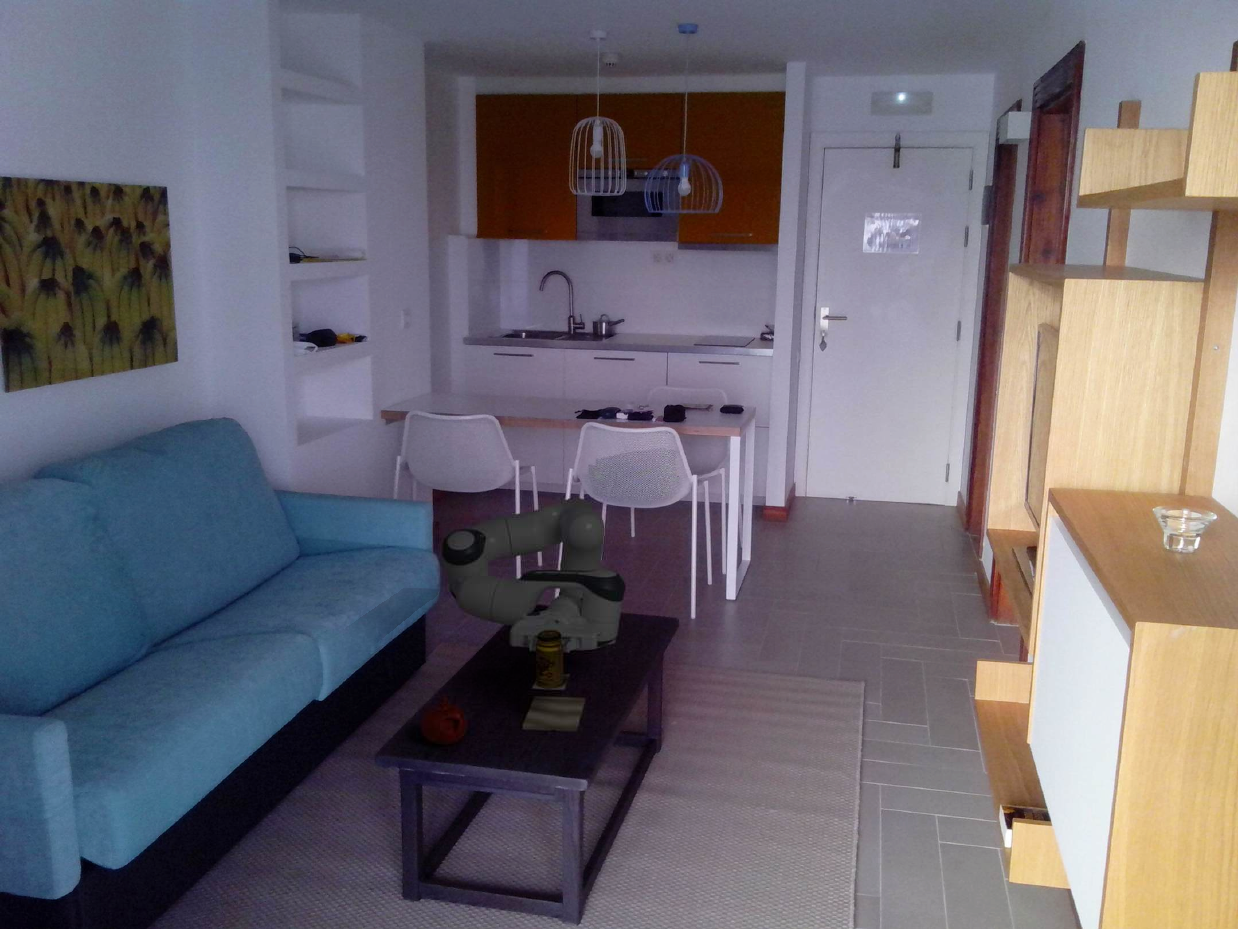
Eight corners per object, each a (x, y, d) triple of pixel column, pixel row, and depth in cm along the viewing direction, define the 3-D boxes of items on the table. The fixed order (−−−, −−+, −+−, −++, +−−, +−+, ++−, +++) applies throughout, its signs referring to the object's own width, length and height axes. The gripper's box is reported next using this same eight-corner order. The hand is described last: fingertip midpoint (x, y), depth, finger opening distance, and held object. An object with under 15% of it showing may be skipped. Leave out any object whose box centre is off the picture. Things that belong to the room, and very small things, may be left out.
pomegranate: (412, 744, 225) (410, 704, 224) (440, 726, 234) (437, 687, 232) (451, 752, 221) (448, 711, 219) (477, 733, 230) (475, 693, 228)
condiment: (531, 689, 233) (531, 638, 230) (538, 674, 241) (538, 624, 239) (564, 690, 232) (564, 639, 230) (570, 675, 240) (570, 626, 238)
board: (534, 700, 248) (534, 696, 247) (585, 702, 247) (585, 698, 246) (522, 729, 232) (522, 725, 232) (576, 731, 231) (576, 727, 231)
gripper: (602, 642, 246) (595, 664, 233) (516, 638, 248) (504, 660, 235) (602, 616, 245) (595, 637, 232) (516, 613, 247) (504, 633, 234)
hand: (549, 648), depth 233 cm, fingers closed on condiment, 6 cm apart
